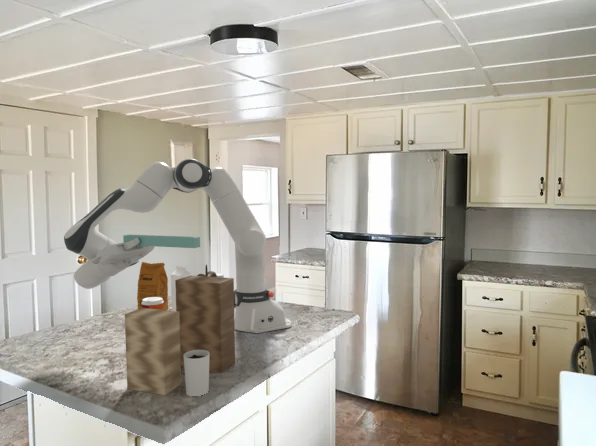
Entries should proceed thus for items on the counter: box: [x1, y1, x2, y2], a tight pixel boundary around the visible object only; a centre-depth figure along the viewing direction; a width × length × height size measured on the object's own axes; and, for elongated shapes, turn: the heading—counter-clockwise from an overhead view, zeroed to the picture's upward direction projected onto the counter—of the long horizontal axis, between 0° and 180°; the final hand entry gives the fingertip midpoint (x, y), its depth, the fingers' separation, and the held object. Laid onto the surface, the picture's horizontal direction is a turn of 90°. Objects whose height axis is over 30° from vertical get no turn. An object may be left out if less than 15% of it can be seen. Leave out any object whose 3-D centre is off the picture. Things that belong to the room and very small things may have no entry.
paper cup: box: [141, 297, 164, 310], centre depth 162 cm, size 8×8×14 cm
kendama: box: [196, 264, 217, 277], centre depth 201 cm, size 6×10×20 cm, turn 160°
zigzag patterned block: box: [124, 308, 182, 396], centre depth 121 cm, size 12×7×20 cm, turn 70°
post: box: [175, 274, 236, 373], centre depth 136 cm, size 15×8×26 cm, turn 70°
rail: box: [122, 234, 201, 249], centre depth 139 cm, size 26×3×3 cm, turn 70°
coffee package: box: [136, 261, 169, 310], centre depth 196 cm, size 10×12×22 cm
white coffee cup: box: [183, 350, 210, 397], centre depth 118 cm, size 7×7×10 cm
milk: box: [170, 265, 193, 311], centre depth 185 cm, size 6×6×22 cm
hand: (144, 238), depth 141 cm, fingers closed on rail, 3 cm apart
